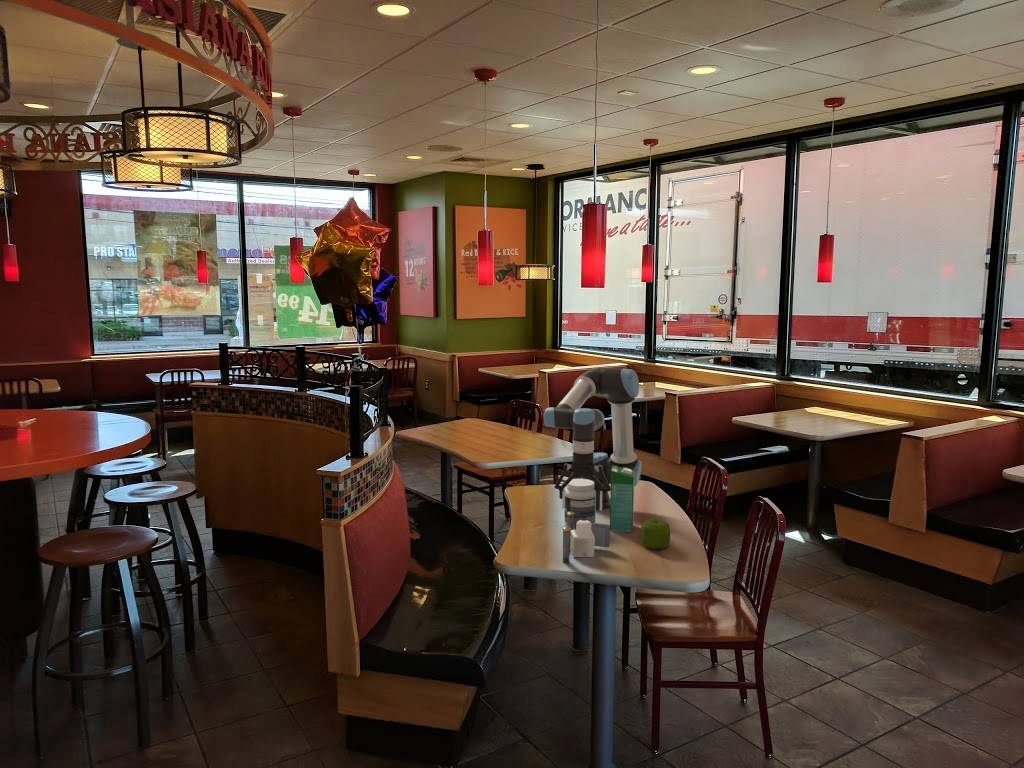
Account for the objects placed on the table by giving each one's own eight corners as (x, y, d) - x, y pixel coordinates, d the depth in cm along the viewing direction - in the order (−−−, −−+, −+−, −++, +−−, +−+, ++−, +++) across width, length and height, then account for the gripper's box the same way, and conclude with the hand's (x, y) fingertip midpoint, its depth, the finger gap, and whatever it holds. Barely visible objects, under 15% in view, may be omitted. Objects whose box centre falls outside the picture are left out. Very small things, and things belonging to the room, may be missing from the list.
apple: (663, 554, 266) (664, 525, 264) (636, 548, 271) (637, 520, 270) (674, 544, 275) (675, 517, 273) (647, 539, 281) (648, 512, 279)
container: (569, 549, 269) (571, 516, 267) (590, 549, 270) (591, 516, 268) (573, 557, 262) (574, 523, 260) (594, 557, 262) (595, 523, 260)
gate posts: (566, 543, 276) (567, 511, 274) (574, 544, 276) (574, 511, 274) (561, 563, 257) (562, 528, 255) (569, 563, 256) (569, 529, 255)
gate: (574, 543, 273) (574, 521, 272) (575, 542, 274) (575, 520, 273) (608, 547, 269) (609, 525, 267) (609, 546, 270) (609, 524, 269)
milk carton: (632, 532, 289) (633, 471, 285) (609, 530, 290) (610, 470, 287) (633, 524, 297) (634, 465, 294) (611, 523, 299) (612, 464, 296)
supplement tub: (566, 519, 304) (566, 477, 302) (596, 521, 302) (597, 478, 299) (562, 529, 292) (562, 485, 289) (594, 531, 289) (594, 487, 286)
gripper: (547, 452, 259) (547, 509, 262) (617, 455, 255) (616, 513, 257) (550, 447, 266) (549, 503, 269) (618, 450, 262) (616, 507, 265)
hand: (582, 508), depth 263 cm, fingers open, 13 cm apart
